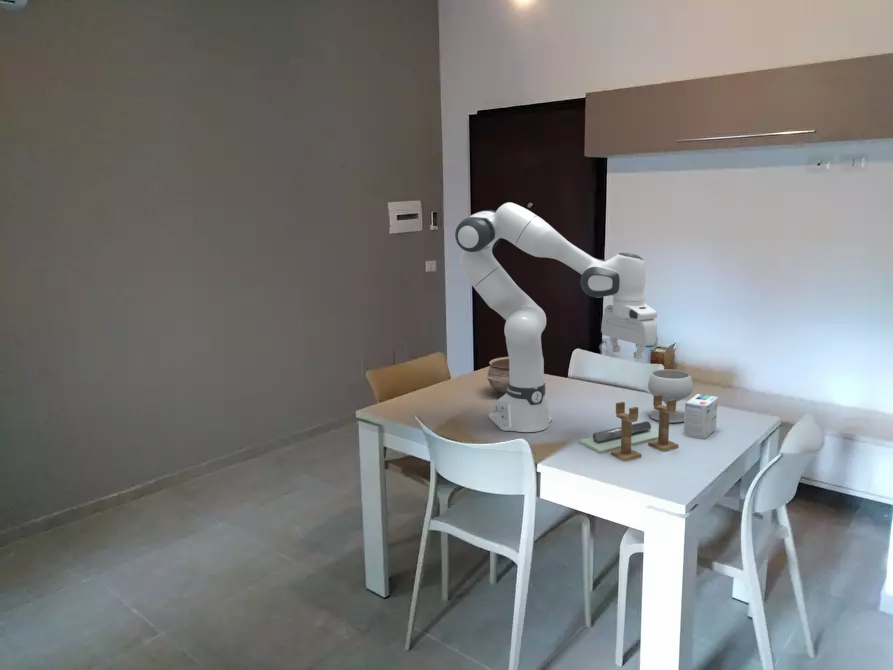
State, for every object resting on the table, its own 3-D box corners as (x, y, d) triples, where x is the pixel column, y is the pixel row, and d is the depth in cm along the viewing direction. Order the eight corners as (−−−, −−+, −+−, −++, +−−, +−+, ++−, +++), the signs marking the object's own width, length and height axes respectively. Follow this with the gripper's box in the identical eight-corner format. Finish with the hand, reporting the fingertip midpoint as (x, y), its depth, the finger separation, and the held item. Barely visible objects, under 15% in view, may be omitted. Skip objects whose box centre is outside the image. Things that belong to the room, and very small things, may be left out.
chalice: (697, 424, 210) (699, 379, 207) (652, 425, 211) (654, 380, 208) (684, 410, 224) (686, 368, 221) (642, 411, 225) (644, 368, 222)
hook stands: (609, 454, 189) (610, 404, 186) (662, 441, 197) (664, 393, 194) (625, 461, 183) (626, 410, 180) (679, 448, 192) (681, 398, 189)
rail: (600, 442, 194) (597, 432, 194) (594, 443, 197) (591, 433, 197) (652, 430, 202) (649, 420, 203) (645, 431, 205) (643, 421, 206)
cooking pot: (518, 382, 265) (518, 352, 263) (553, 391, 251) (553, 360, 248) (471, 395, 250) (470, 363, 247) (506, 406, 235) (505, 373, 233)
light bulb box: (695, 425, 210) (696, 393, 208) (716, 429, 206) (718, 396, 203) (682, 435, 202) (684, 401, 199) (705, 439, 197) (707, 405, 195)
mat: (579, 442, 198) (579, 440, 198) (645, 427, 210) (645, 424, 209) (600, 453, 190) (600, 450, 189) (668, 436, 201) (668, 434, 201)
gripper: (596, 305, 200) (595, 349, 203) (644, 315, 182) (642, 363, 185) (613, 303, 202) (611, 347, 205) (661, 313, 184) (659, 361, 187)
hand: (626, 355), depth 195 cm, fingers open, 8 cm apart
